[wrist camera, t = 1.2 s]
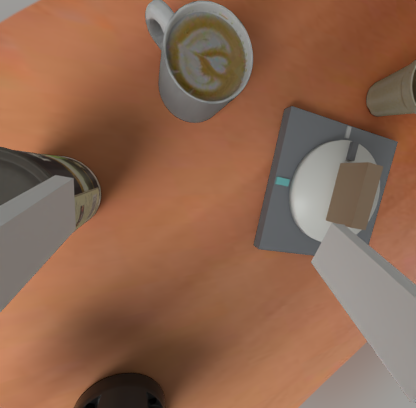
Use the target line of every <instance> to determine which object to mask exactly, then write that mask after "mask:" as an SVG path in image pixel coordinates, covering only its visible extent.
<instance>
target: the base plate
mask: <svg viewBox="0 0 416 408" xmlns="http://www.w3.org/2000/svg"><path fill="white" fill-rule="evenodd" d="M338 140H349V141H354V142H357V143H359V144H360V145H362V146H363V147H364V148H366V149H367V150H368V151H369V153H370V154H371V155H372V157H373V158H374V160H375V162H376V164H377V165H380V166H383V170H382V174H381V177H380V193H379V199H378V203H377V206H376V209H375V211H374V213H373V215H372V217H371V219H370V220H369V222H368V224H367V227H366V230H361V231H360V232H359V233H358V234H356V235H357V236H358V237H359V238H360V239H362V240H363V241H364V242H365V243H366V244H368V245H369V241H370V238H371V234H372V231H373V227H374V224H375V220H376V216H377V213H378V209H379V206H380V202H381V199H382V195H383V192H384V188H385V185H386V181H387V178H388V174H389V171H390V167H391V164H392V160H393V157H394V153H395V150H396V146H397V143H398V142H397V141H394V140H391V139H388V138H385V137H382V136H379V135H376V134H373V133H370V132H367V131H364V130H361V129H358V128H355V127H352V126H349V125H346V124H343V123H341V122H338V121H335V120H332V119H329V118H326V117H323V116H320V115H317V114H314V113H311V112H308V111H305V110H302V109H299V108H296V107H293V106H291V107H288V108H286V109H284V113H283V118H282V122H281V126H280V131H279V135H278V140H277V144H276V149H275V153H274V157H273V162H272V166H271V171H270V175H269V179H268V184H267V188H266V193H265V197H264V201H263V206H262V210H261V215H260V219H259V223H258V228H257V232H256V237H255V241H254V246H255V247H257V248H258V249H262V250H270V251H279V252H288V253H296V254H305V255H313V256H315V254H316V252H317V250H318V248H319V246H320V244H321V242H320V241H317V240H315V239H313V238H310V237H309V236H307V235H305V234H304V233H303V232H302V231H301V230H300V229H299V228H298V226H297V225H296V223H295V221H294V219H293V217H292V214H291V211H290V205H289V190H290V185H291V181H292V178H293V175H294V173H295V170H296V168H297V167H298V165H299V163H300V162H301V161H302V159H303V158H304V157H305V156H306V155H307V154H308V153H309V152H310V151H311V150H312V149H314V148H316V147H317V146H319V145H321V144H323V143H327V142H331V141H338Z"/></svg>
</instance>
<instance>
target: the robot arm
mask: <svg viewBox="0 0 416 408" xmlns="http://www.w3.org/2000/svg"><path fill="white" fill-rule="evenodd" d="M75 229H76V219H75V198H74V178H69V177H64V176H58V175H55V176H53V177H51V178H49V179H48V180H46V181H44V182H42V183H40V184H38V185H37V186H35V187H33V188H31V189H29V190H28V191H26V192H24V193H22V194H20V195H19V196H17V197H15V198H13V199H11V200H9V201H8V202H6V203H4V204H2V205H0V312H1V311H2V310H3V309H4V308H5V307H6V306H7V304H8V303H9V302H10V301H11V300H12V299H13V298H14V297H15V296H16V295H17V293H18V292H19V291H20V290H21V289H22V288H23V287H24V286H25V285H26V283H27V282H28V281H29V280H30V279H31V278H32V277H33V276H34V275H35V274H36V272H37V271H38V270H39V269H40V268H41V267H42V266H43V265H44V264H45V263H46V261H47V260H48V259H49V258H50V257H51V256H52V255H53V254H54V253H55V252H56V250H57V249H58V248H59V247H60V246H61V245H62V244H63V243H64V242H65V240H66V239H67V238H68V237H69V236H70V235H71V234H72V233H73V232H74V231H75ZM311 263H312V264H313V266H314V267H315V269H316V270H317V271H318V273H319V274H320V276H321V277H322V278H323V280H324V281H325V283H326V284H327V285H328V287H329V288H330V290H331V291H332V292H333V294H334V295H335V297H336V298H337V299H338V301H339V302H340V304H341V305H342V306H343V308H344V309H345V311H346V312H347V313H348V315H349V316H350V318H351V319H352V320H353V322H354V323H355V325H356V326H357V327H358V329H359V330H360V332H361V333H362V334H363V336H364V337H365V339H366V340H367V341H368V343H369V344H370V346H371V347H372V348H373V350H374V351H375V353H376V354H377V355H378V357H379V358H380V359H381V361H382V362H383V364H384V365H385V367H386V368H387V369H388V371H389V372H390V374H391V375H392V376H393V378H394V379H395V381H396V382H397V383H398V385H399V386H400V388H401V389H402V390H403V392H404V393H405V395H406V396H407V397H408V399H409V400H410V402H416V285H415V284H414V283H413V282H412V281H410V280H409V279H408V278H407V277H406V276H404V275H403V274H402V273H401V272H400V271H399V270H397V269H396V268H395V267H394V266H393V265H391V264H390V263H389V262H388V261H387V260H385V259H384V258H383V257H382V256H381V255H380V254H378V253H377V252H376V251H375V250H374V249H372V248H371V247H370V246H369V245H368V244H366V243H365V242H364V241H363V240H362V239H360V238H359V237H358V236H357V235H356V234H355V233H353V232H352V231H351V230H350V229H349V228H347V227H346V226H345V225H342V224H336V223H331V225H330V227H329V229H328V231H327V233H326V235H325V237H324V238H323V240H322V242H321V244H320V246H319V248H318V250H317V252H316V254H315V256H314V257H313V259H312V261H311ZM74 408H165V397H164V393H163V391H162V389H161V387H160V386H159V385H158V383H157V382H155V381H154V380H153V379H151V378H149V377H147V376H144V375H141V374H135V373H125V374H118V375H114V376H111V377H108V378H105V379H103V380H101V381H99V382H98V383H96V384H94V385H93V386H91V387H90V388H89V389H88V390H87V391H86V392H85V393H84V394H83V395H82V396H81V397H80V398H79V400H78V401H77V403H76V404H75V406H74Z"/></svg>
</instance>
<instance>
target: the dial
mask: <svg viewBox="0 0 416 408" xmlns="http://www.w3.org/2000/svg"><path fill="white" fill-rule="evenodd" d="M382 170H383V166H380V165H377V164H376V162H375V160H374V158H373V157H372V155H371V154H370V153H369V151H368V150H367V149H366V148H364V147H363V146H362V145H360V144H359V143H357V142H354V141H349V140H338V141H331V142H327V143H323V144H321V145H319V146H317V147H316V148H314V149H312V150H311V151H310V152H309V153H308V154H307V155H306V156H305V157H304V158H303V159H302V161H301V162H300V163H299V165H298V167H297V168H296V170H295V173H294V175H293V178H292V181H291V185H290V190H289V205H290V211H291V214H292V217H293V219H294V221H295V223H296V225H297V226H298V228H299V229H300V230H301V231H302V232H303V233H304V234H305V235H307V236H309V237H310V238H313V239H315V240H317V241H320V242H322V240H323V238H324V237H325V235H326V233H327V231H328V229H329V227H330V225H331V223H336V224H342V225H345V226H346V227H347V228H349V229H350V230H351V231H352V232H353V233H355V234H358V233H359V232H360V231H361V230H366V227H367V224H368V222H369V220H370V219H371V217H372V215H373V213H374V211H375V209H376V206H377V203H378V199H379V193H380V177H381V174H382Z"/></svg>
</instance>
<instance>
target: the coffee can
mask: <svg viewBox="0 0 416 408" xmlns="http://www.w3.org/2000/svg"><path fill="white" fill-rule="evenodd" d="M55 175H58V176H64V177H69V178H74V198H75V219H76V229H75V230H77V229H78V228H79V227H80V226H82V225H83V224H84V223H85V222H87V221H88V220H89V219H91V218H92V217H93V216H94V214H95V213H96V211H97V209H98V207H99V205H100V201H101V188H100V185H99V182H98V180H97V178H96V176H95V175H94V173H93V172H92V171H91V170H90V169H89V168H88V167H87V166H86V165H84V164H83V163H81V162H79V161H78V160H75V159H73V158H69V157H65V156H53V155H45V154H37V153H30V152H24V151H16V150H11V149H7V148H3V147H0V205H2V204H4V203H6V202H8V201H9V200H11V199H13V198H15V197H17V196H19V195H20V194H22V193H24V192H26V191H28V190H29V189H31V188H33V187H35V186H37V185H38V184H40V183H42V182H44V181H46V180H48V179H49V178H51V177H53V176H55Z"/></svg>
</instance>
